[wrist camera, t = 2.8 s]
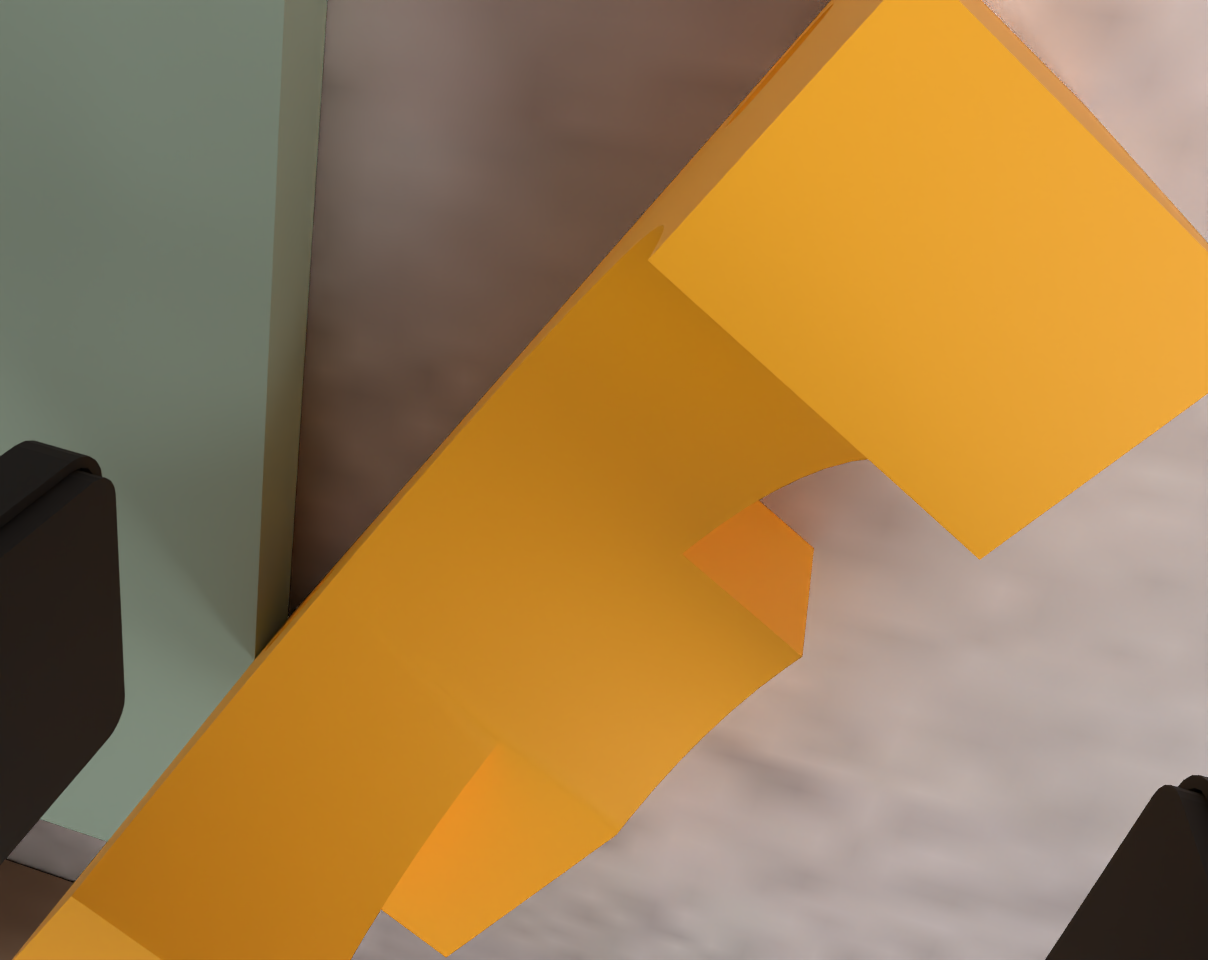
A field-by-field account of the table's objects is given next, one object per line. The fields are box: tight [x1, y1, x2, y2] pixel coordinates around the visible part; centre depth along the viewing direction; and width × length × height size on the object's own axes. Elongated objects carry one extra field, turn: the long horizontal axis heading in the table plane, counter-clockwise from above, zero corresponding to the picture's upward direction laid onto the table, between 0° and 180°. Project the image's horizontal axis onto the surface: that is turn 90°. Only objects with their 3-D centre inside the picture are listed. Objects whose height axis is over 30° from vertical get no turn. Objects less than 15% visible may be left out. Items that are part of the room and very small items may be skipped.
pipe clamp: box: [12, 0, 1208, 960], centre depth 11 cm, size 12×4×6 cm, turn 141°
